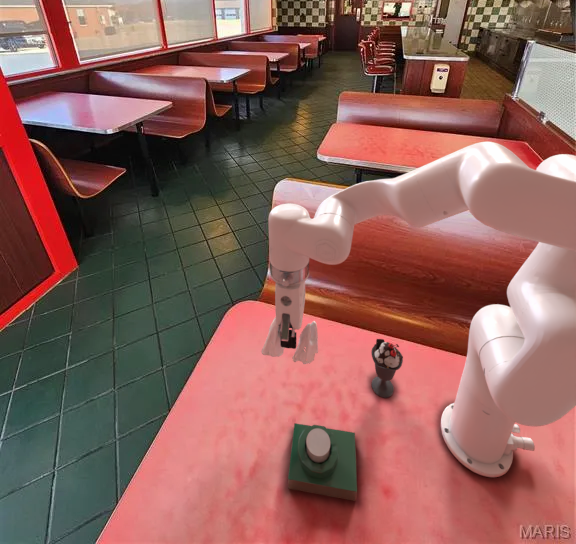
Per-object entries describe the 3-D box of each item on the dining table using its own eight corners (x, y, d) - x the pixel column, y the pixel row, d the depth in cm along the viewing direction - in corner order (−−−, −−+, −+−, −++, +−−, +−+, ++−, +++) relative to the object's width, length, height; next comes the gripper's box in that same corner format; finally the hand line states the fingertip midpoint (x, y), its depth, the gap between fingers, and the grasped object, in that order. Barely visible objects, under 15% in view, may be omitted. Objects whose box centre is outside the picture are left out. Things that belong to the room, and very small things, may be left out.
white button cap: (330, 436, 63) (330, 430, 62) (329, 465, 59) (330, 458, 58) (307, 433, 63) (307, 426, 62) (305, 460, 59) (305, 454, 58)
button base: (353, 441, 66) (355, 426, 64) (355, 501, 57) (357, 485, 56) (294, 432, 67) (294, 416, 66) (288, 488, 59) (287, 472, 57)
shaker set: (261, 361, 70) (259, 322, 66) (264, 344, 74) (263, 306, 70) (317, 366, 69) (318, 327, 65) (318, 349, 73) (319, 310, 69)
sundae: (399, 404, 72) (407, 356, 67) (368, 398, 73) (373, 350, 68) (396, 375, 78) (403, 329, 73) (367, 370, 79) (372, 324, 74)
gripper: (304, 301, 55) (303, 377, 61) (312, 242, 70) (311, 307, 77) (260, 297, 56) (264, 372, 62) (278, 239, 71) (279, 304, 78)
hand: (290, 335), depth 69 cm, fingers closed on shaker set, 4 cm apart
